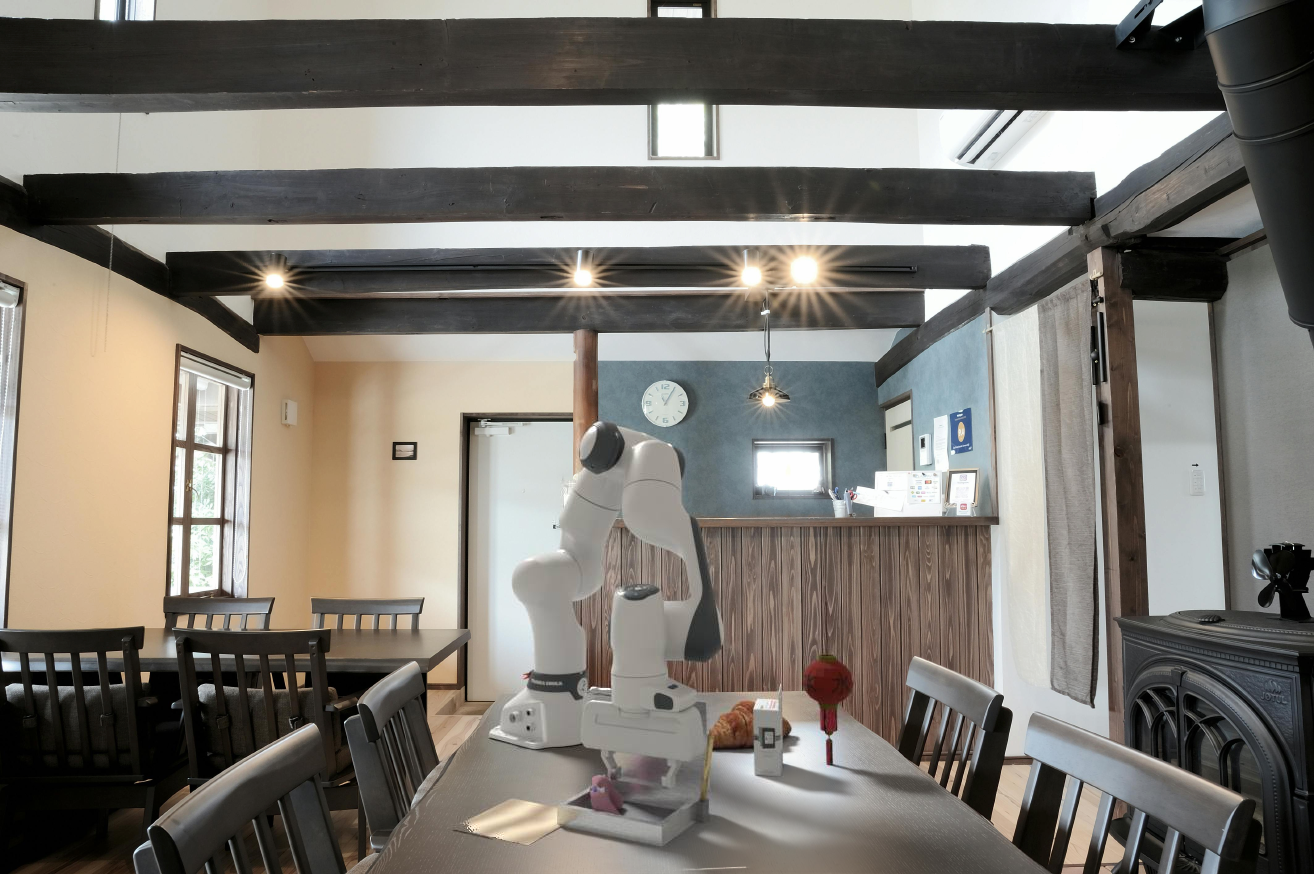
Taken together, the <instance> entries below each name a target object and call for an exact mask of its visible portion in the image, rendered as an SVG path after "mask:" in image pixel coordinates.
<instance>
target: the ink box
mask: <svg viewBox="0 0 1314 874" xmlns="http://www.w3.org/2000/svg"><path fill="white" fill-rule="evenodd" d="M778 689H779V690H778V693H777V696H778V697H777V699H771V698H757V699H756V701H755V702H754V703H755V706H754V709H753V715H754V748H753V760H754V761H753V766H754V769H753V770H754V775H755V776H768V777H781V776H782V772H783V763H784V754H783V753H784V751H783V750H784V745H783V744H784V743H783V739H784V737H783V735H782V717H783V685H782V683H780V685H779V688H778Z"/></svg>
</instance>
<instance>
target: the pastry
mask: <svg viewBox="0 0 1314 874" xmlns="http://www.w3.org/2000/svg"><path fill="white" fill-rule="evenodd" d="M755 703H756V702H754V701H751V700H741V701H739V702H738V703H737V704H736V703H735V705H734V706H733V707H732V708H731V711H730V712H727V713H722V714H721V715H719V716H718V720H717V721H716V722H715V724H714V725H713V727H712V728H709V734H713V735H714V743H713V750H714V749H715V750H717V749H720V750H723V749H724V750H725V749H737V748H744V749H748V748H749V749H751V748H752V749H754V715H753V709H754V706H755ZM792 728H793V727H792V725H791V723H790V722H789V721H788V720H787V719H786V718H785V717H783V716H782V735H783V738H785V737H787V736H789V735H790V734H791V732H792V730H793V729H792Z"/></svg>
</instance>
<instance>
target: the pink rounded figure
mask: <svg viewBox="0 0 1314 874" xmlns="http://www.w3.org/2000/svg"><path fill="white" fill-rule="evenodd" d="M591 786H592V787H591ZM588 788H589V791H590V794H591V803H592V806H593V808H594V809H593V810H597V811H602V812H607V813H612V814H617V815H622V814H621V813H620V812H619V810H618V809H622V808H623V807H624V801H623V799H622V797H621V795H620V794H619V793H618V792H617V791H616V789H615V788H614V787H613V786H612V784H611V783H610V781H609V779H608V776H606V774H603V775H600V774H598V775H594V776H593V777H592V778H591V785H589V787H588Z"/></svg>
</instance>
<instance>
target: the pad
mask: <svg viewBox="0 0 1314 874" xmlns="http://www.w3.org/2000/svg"><path fill="white" fill-rule="evenodd" d="M467 821H468V822H469V824H468V822H467ZM464 822H466V824H467V825H469V826H468V827H469V828H470V829H471V830H472V831H473V829H474V831H473V833H477V834H480V835H484V836H488V837H496V838H497V839H496V840H500V839H502V840H501V841H504V840H505V841H506V842H509V843H513V842H515V843H514V844H517V842H519V844H518V845H521V846H522V845H523V846H526V845H527V847H528V846H530V845H532V844H533V843H535V842H537V841H538V840H541V839H542V838H544V837H546V836H548V835H549V834H551V833H553V832H555V831H556V830H558V829H560V828H561V827H564V826H563V825H561V824H557V806H552V805H546V804H541V803H536V802H532V801H528V800H527V801H526V800H521V799H519V798H518V799H517V798H513V797H511V798H510V799H507V800H505V801H504V802H502V803H499V804H498V805H495V806H493V807H491V808H489V809H487V810H485V811H483V812H482V813H479V814H478V815H475V816H473V817H471V818H469V819H466V820H465V821H463V822H461V823H460V824H462V823H463V824H464V825H465V823H464ZM470 826H471V827H470ZM468 827H467V829H468ZM476 829H477V830H476ZM469 831H470V830H469ZM470 832H471V831H470ZM498 837H499V838H498ZM505 841H504V842H505Z"/></svg>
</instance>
